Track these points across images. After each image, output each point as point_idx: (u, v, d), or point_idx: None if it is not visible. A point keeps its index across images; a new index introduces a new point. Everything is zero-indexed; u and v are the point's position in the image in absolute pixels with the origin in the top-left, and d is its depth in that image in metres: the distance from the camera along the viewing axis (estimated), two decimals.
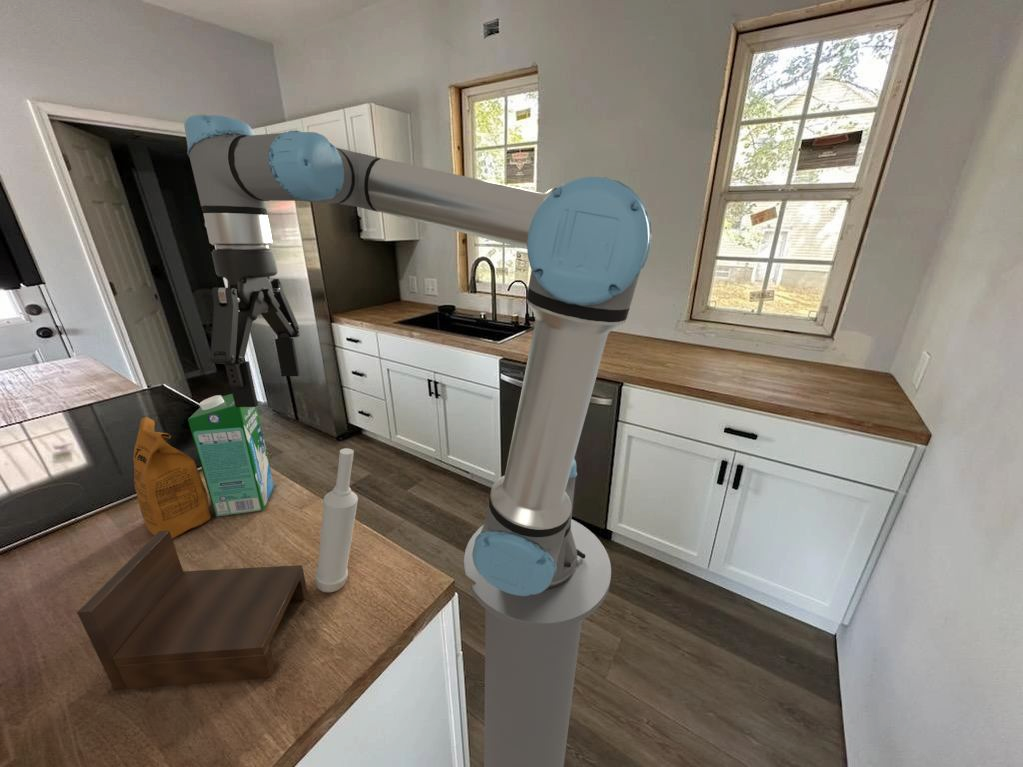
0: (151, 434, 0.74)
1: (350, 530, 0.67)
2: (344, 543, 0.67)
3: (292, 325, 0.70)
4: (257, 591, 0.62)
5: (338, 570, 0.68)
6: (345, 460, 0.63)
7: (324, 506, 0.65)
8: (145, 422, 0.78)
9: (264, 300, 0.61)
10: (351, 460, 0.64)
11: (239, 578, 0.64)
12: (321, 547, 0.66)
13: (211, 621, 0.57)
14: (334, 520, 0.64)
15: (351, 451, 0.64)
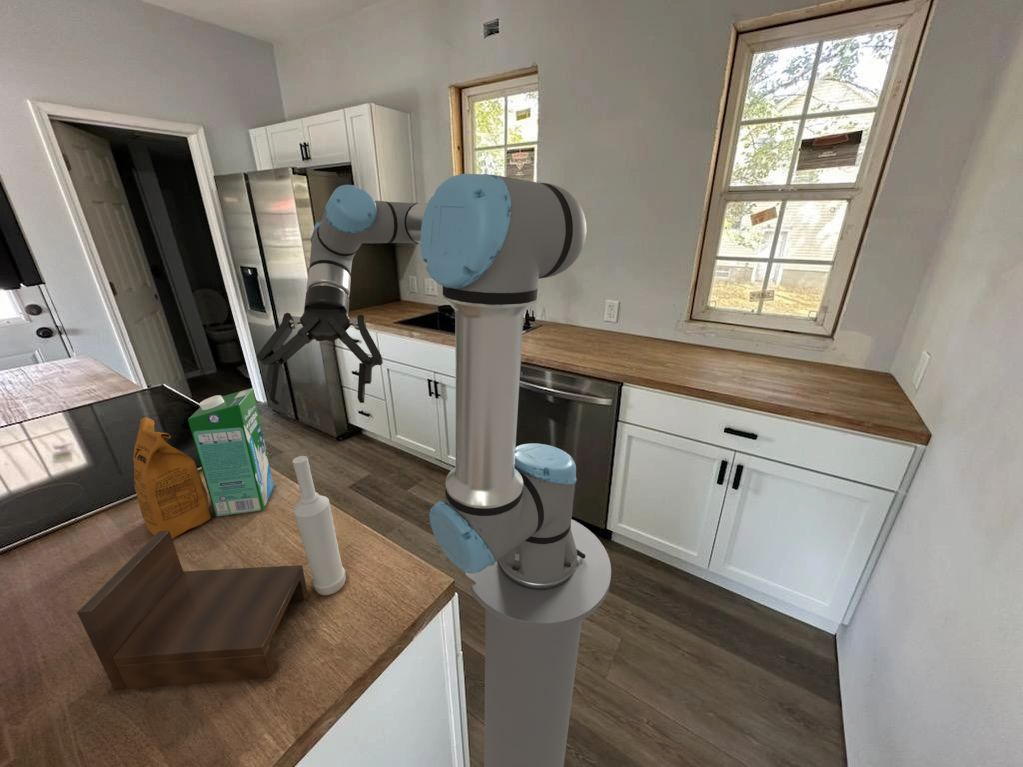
0: (151, 434, 0.74)
1: (330, 534, 0.66)
2: (328, 548, 0.66)
3: None
4: (257, 591, 0.62)
5: (331, 573, 0.67)
6: (300, 469, 0.61)
7: (295, 517, 0.63)
8: (145, 422, 0.78)
9: (329, 327, 0.74)
10: (307, 467, 0.61)
11: (239, 578, 0.64)
12: (307, 555, 0.66)
13: (211, 621, 0.57)
14: (308, 528, 0.63)
15: (305, 458, 0.61)
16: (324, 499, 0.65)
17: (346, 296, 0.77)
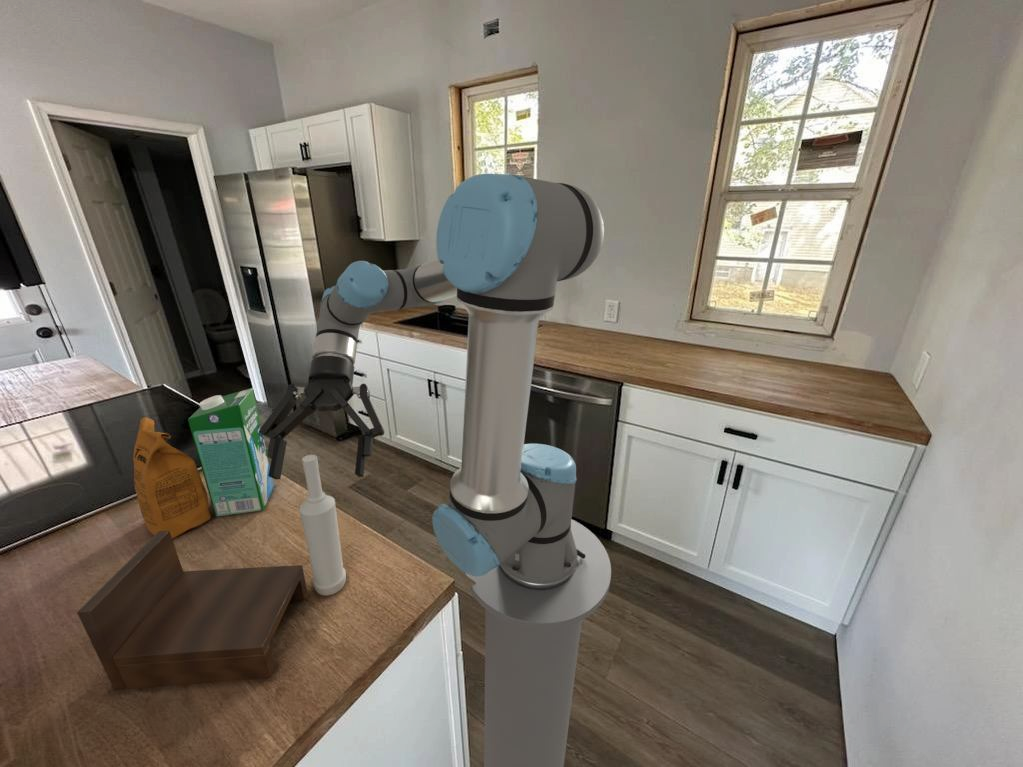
0: (151, 434, 0.74)
1: (334, 534, 0.66)
2: (331, 547, 0.66)
3: None
4: (257, 591, 0.62)
5: (333, 574, 0.68)
6: (309, 467, 0.61)
7: (301, 515, 0.63)
8: (145, 422, 0.78)
9: (331, 397, 0.73)
10: (316, 466, 0.62)
11: (239, 578, 0.64)
12: (310, 554, 0.66)
13: (211, 621, 0.57)
14: (313, 527, 0.63)
15: (314, 457, 0.62)
16: (330, 499, 0.65)
17: (350, 364, 0.76)
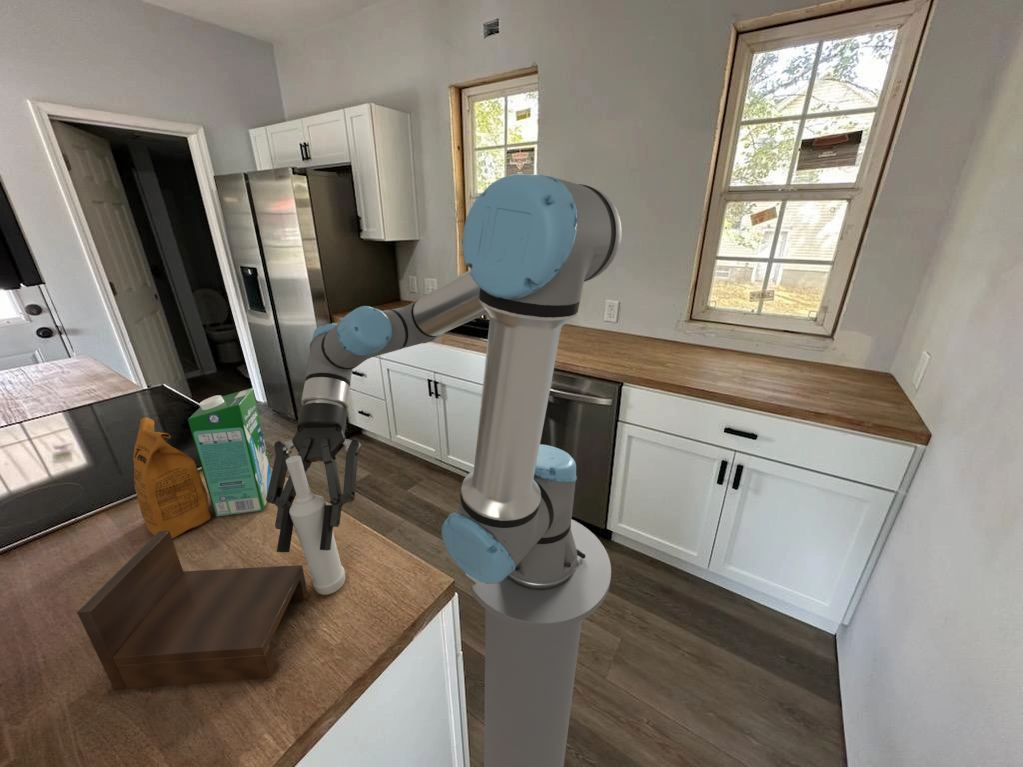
0: (151, 434, 0.74)
1: None
2: None
3: None
4: (257, 591, 0.62)
5: (330, 573, 0.67)
6: (293, 468, 0.61)
7: (291, 517, 0.63)
8: (145, 422, 0.78)
9: None
10: (301, 466, 0.61)
11: (239, 578, 0.64)
12: (305, 555, 0.66)
13: (211, 621, 0.57)
14: (304, 528, 0.63)
15: (298, 458, 0.61)
16: (320, 498, 0.65)
17: (342, 411, 0.71)
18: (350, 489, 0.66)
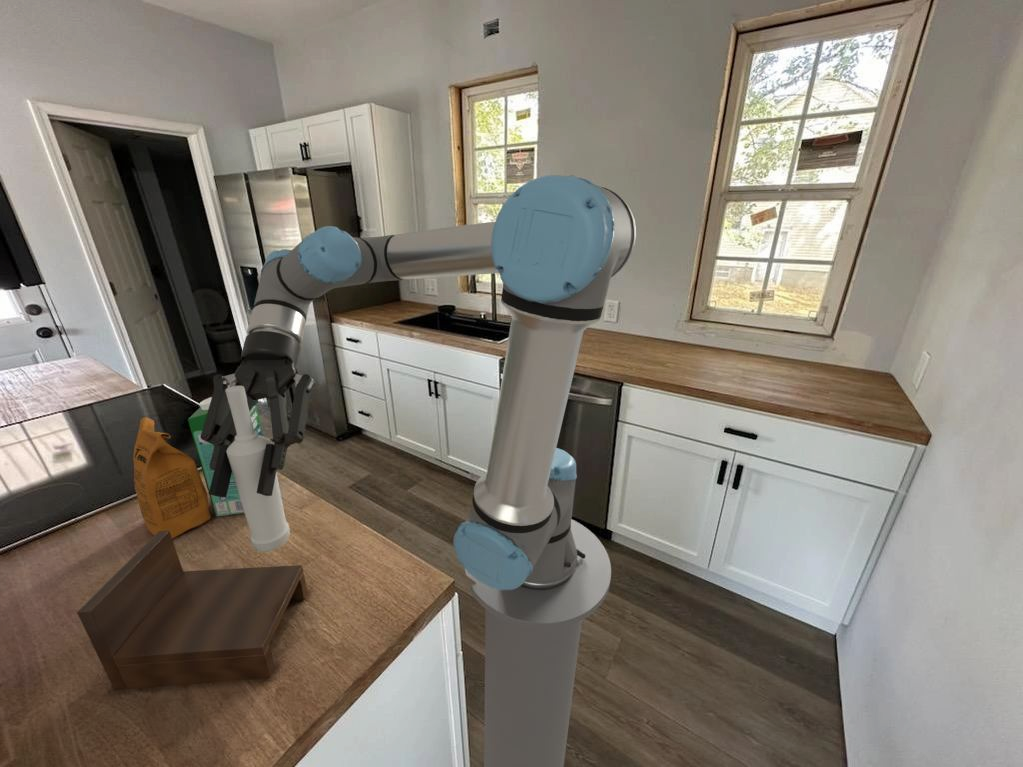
0: (151, 434, 0.74)
1: None
2: (267, 496, 0.57)
3: None
4: (257, 591, 0.62)
5: (271, 527, 0.59)
6: (234, 399, 0.52)
7: (228, 457, 0.55)
8: (145, 422, 0.78)
9: None
10: (243, 398, 0.53)
11: (239, 578, 0.64)
12: (242, 504, 0.57)
13: (211, 621, 0.57)
14: (242, 470, 0.55)
15: (240, 388, 0.53)
16: (264, 439, 0.57)
17: (293, 343, 0.62)
18: (296, 427, 0.57)
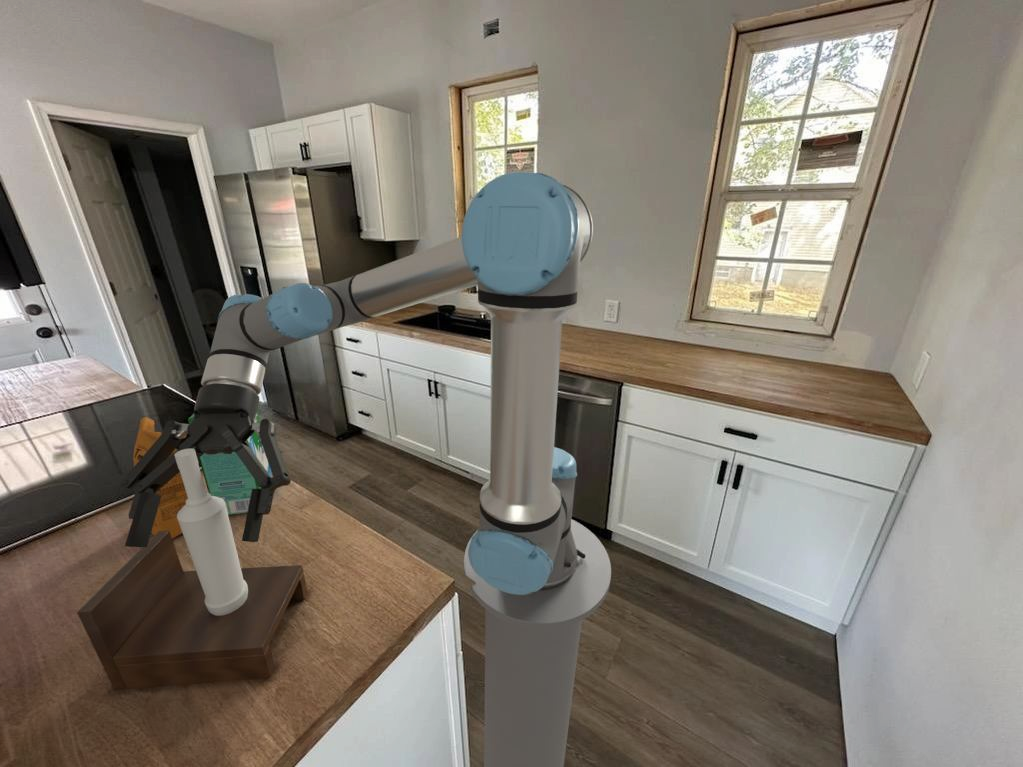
0: (151, 434, 0.74)
1: (224, 543, 0.55)
2: (221, 559, 0.55)
3: None
4: (257, 591, 0.62)
5: (226, 590, 0.57)
6: (183, 464, 0.50)
7: (179, 522, 0.53)
8: (145, 422, 0.78)
9: (221, 437, 0.57)
10: (193, 462, 0.51)
11: None
12: (195, 568, 0.55)
13: (211, 621, 0.57)
14: (193, 536, 0.53)
15: (191, 451, 0.51)
16: (218, 501, 0.55)
17: (250, 394, 0.60)
18: (280, 470, 0.56)
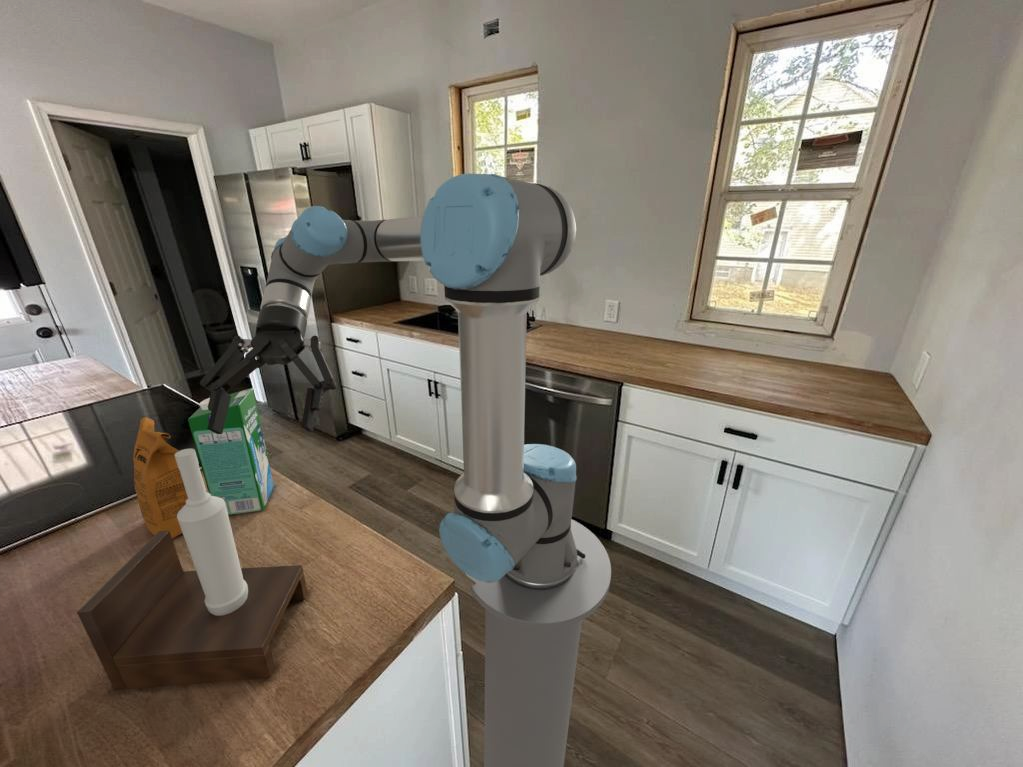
0: (151, 434, 0.74)
1: (224, 543, 0.55)
2: (221, 559, 0.55)
3: None
4: (257, 591, 0.62)
5: (226, 590, 0.57)
6: (183, 464, 0.50)
7: (179, 522, 0.53)
8: (145, 422, 0.78)
9: (279, 349, 0.69)
10: (193, 462, 0.51)
11: None
12: (195, 568, 0.55)
13: (211, 621, 0.57)
14: (193, 536, 0.53)
15: (191, 451, 0.51)
16: (218, 501, 0.55)
17: (301, 316, 0.71)
18: (329, 374, 0.68)
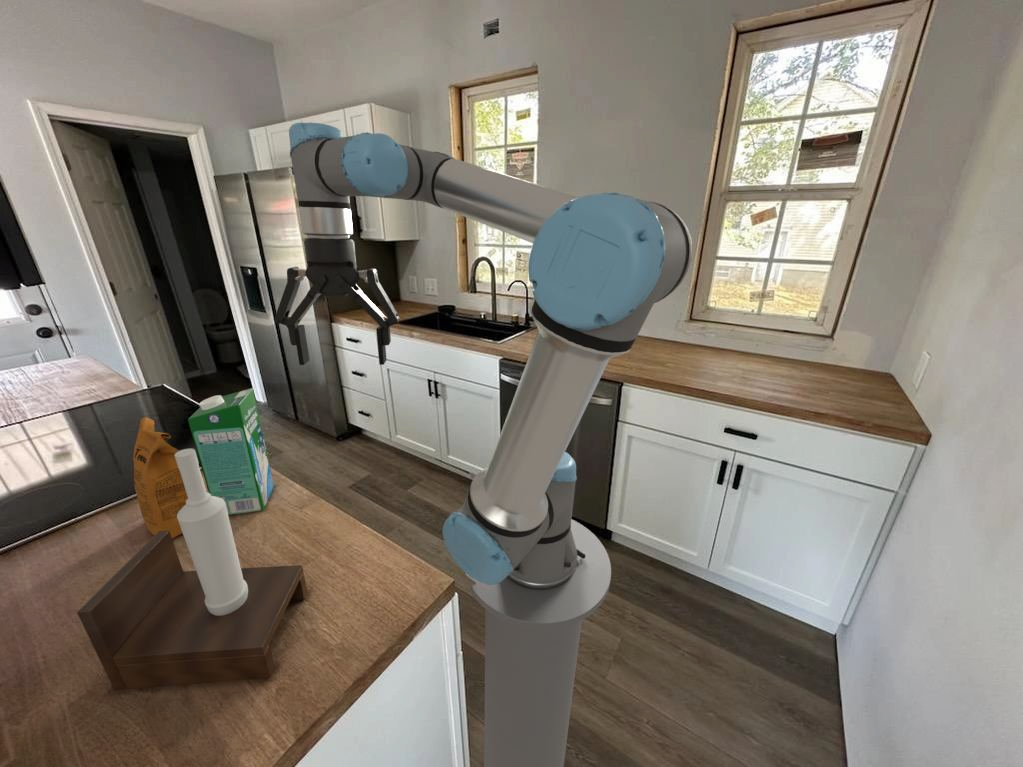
0: (151, 434, 0.74)
1: (224, 543, 0.55)
2: (221, 559, 0.55)
3: None
4: (257, 591, 0.62)
5: (226, 590, 0.57)
6: (183, 464, 0.50)
7: (179, 522, 0.53)
8: (145, 422, 0.78)
9: (338, 285, 0.68)
10: (193, 462, 0.51)
11: None
12: (195, 568, 0.55)
13: (211, 621, 0.57)
14: (193, 536, 0.53)
15: (191, 451, 0.51)
16: (218, 501, 0.55)
17: (349, 244, 0.66)
18: (393, 315, 0.70)
